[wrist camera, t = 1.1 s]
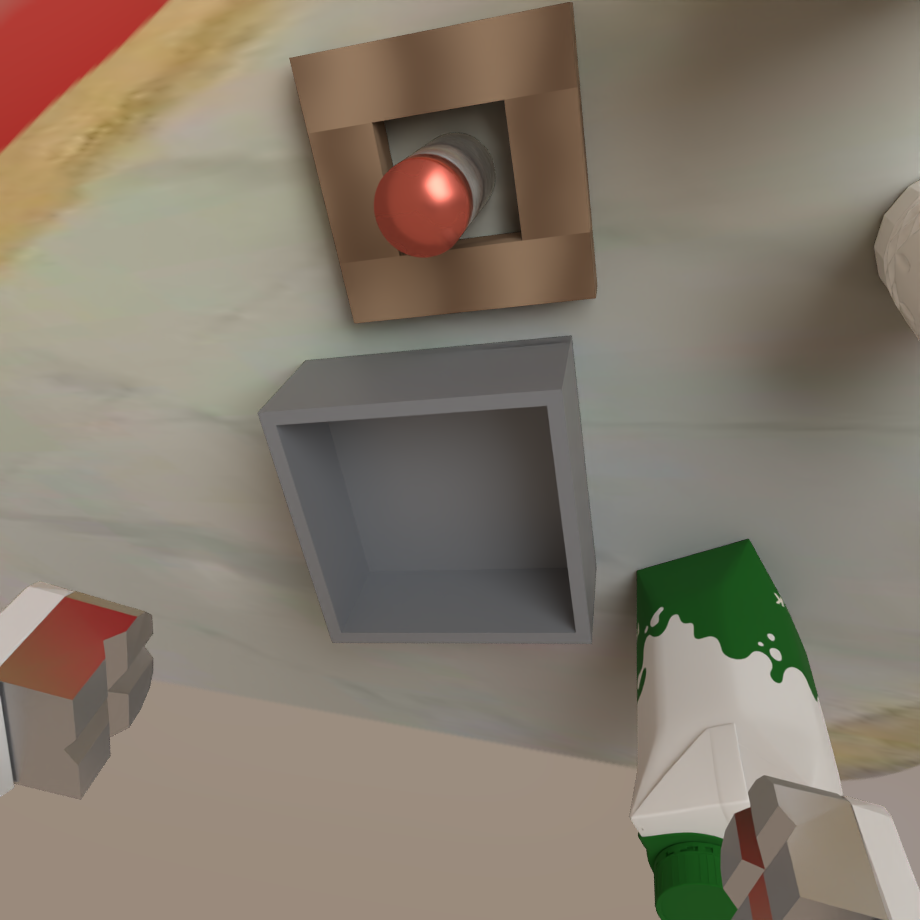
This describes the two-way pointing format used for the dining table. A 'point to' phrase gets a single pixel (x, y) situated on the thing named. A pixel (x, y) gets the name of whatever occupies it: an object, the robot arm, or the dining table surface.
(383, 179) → the red and grey cylinder
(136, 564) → the dining table surface
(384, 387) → the bin
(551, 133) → the socket block
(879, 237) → the white cup
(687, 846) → the milk carton
